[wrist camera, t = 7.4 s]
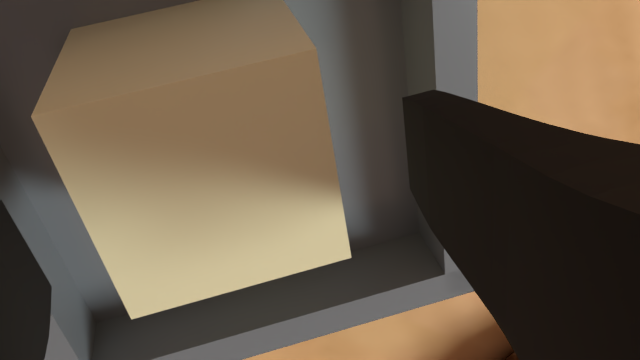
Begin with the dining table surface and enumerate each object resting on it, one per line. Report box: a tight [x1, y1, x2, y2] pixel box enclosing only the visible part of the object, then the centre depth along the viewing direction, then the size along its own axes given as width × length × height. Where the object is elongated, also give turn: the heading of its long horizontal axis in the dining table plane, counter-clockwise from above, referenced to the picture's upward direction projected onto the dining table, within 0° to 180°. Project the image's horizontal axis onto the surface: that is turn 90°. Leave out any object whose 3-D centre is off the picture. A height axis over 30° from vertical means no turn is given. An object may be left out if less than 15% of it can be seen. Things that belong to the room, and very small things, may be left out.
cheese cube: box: [31, 0, 352, 320], centre depth 12 cm, size 4×4×4 cm
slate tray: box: [0, 0, 478, 360], centre depth 13 cm, size 12×14×2 cm
